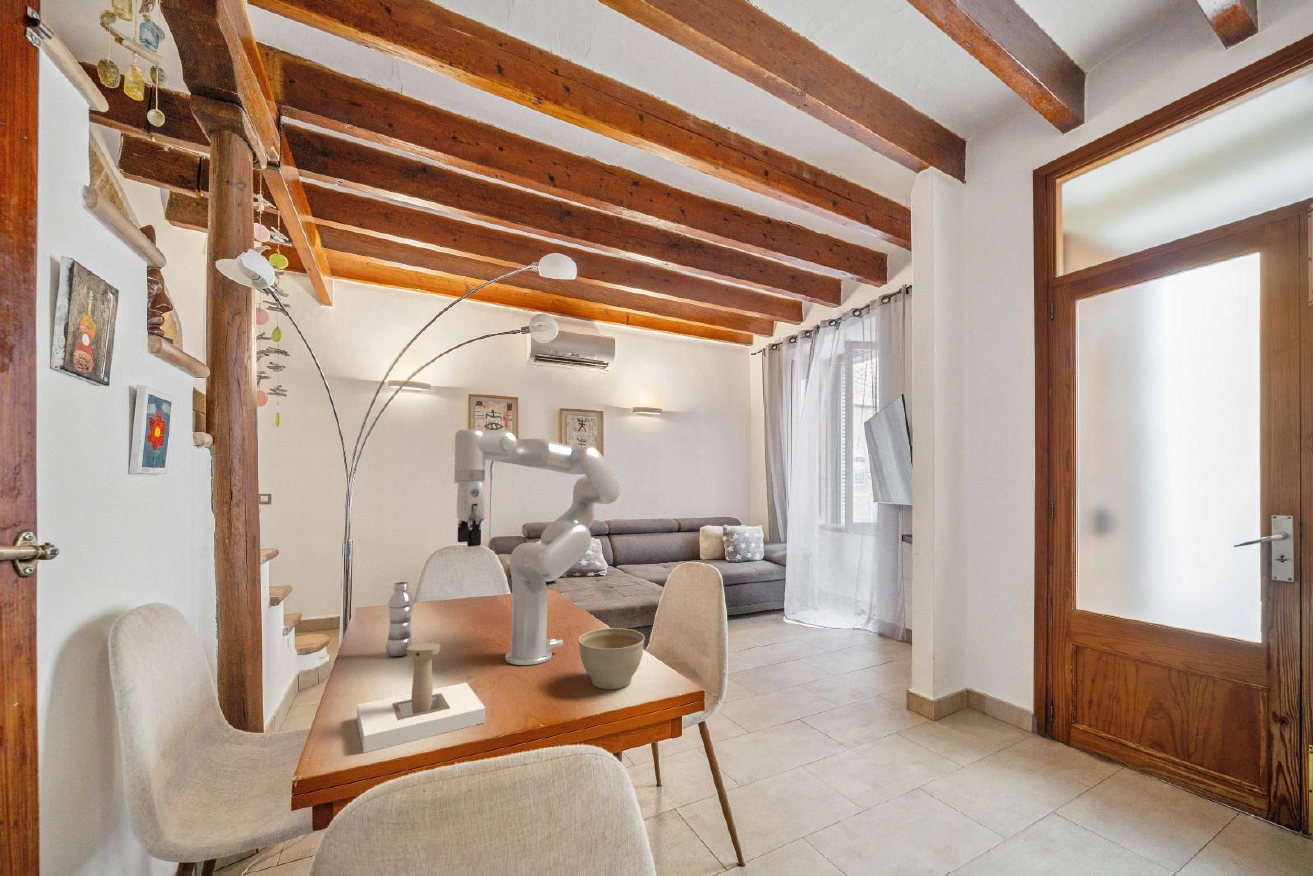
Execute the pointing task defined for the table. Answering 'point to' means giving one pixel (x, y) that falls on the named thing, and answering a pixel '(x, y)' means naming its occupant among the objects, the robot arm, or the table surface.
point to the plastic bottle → (399, 620)
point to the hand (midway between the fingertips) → (468, 543)
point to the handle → (422, 675)
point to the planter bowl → (611, 656)
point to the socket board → (417, 717)
